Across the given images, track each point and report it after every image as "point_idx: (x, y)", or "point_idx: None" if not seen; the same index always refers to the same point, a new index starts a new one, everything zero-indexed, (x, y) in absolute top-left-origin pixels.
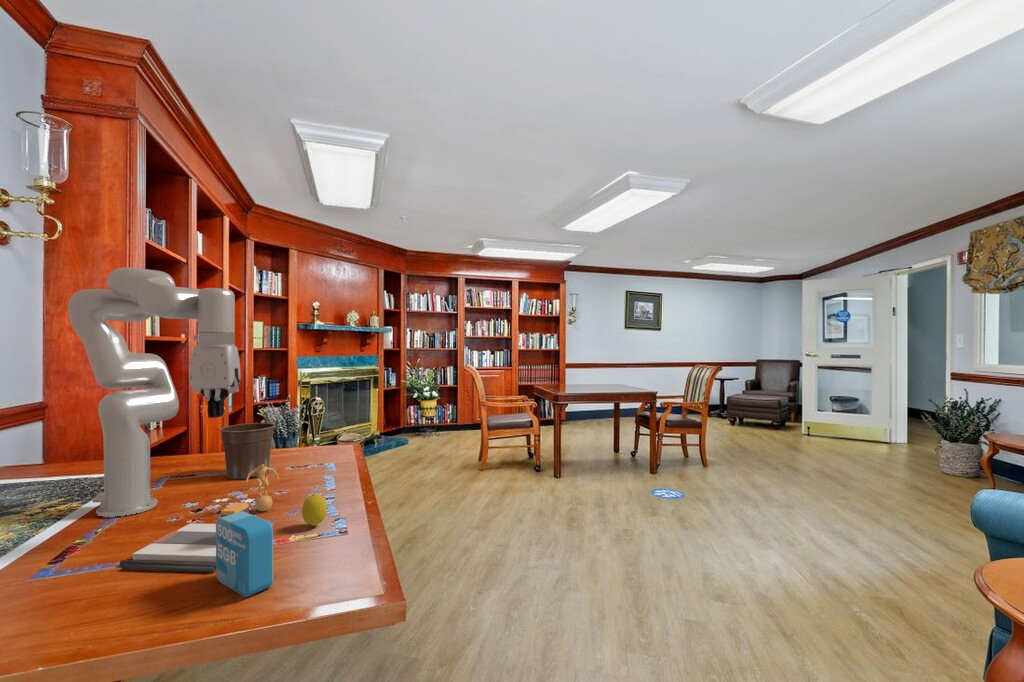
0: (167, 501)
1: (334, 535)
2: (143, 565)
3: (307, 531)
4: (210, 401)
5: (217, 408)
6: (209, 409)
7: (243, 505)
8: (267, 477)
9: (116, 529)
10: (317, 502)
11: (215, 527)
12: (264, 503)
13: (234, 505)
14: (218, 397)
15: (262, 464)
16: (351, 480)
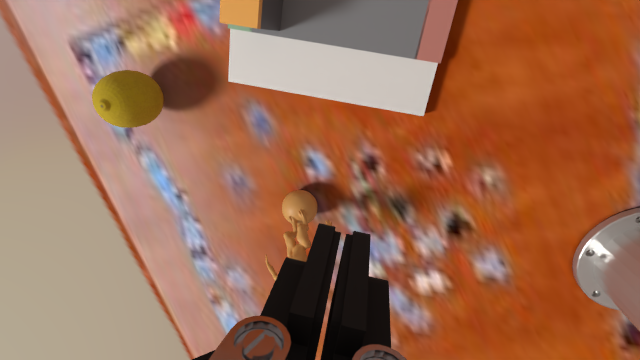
0: (557, 294)
1: (91, 38)
2: None
3: (155, 67)
4: (340, 325)
5: (295, 282)
6: (355, 266)
7: (223, 1)
8: (287, 255)
9: (606, 129)
10: (98, 83)
11: (349, 81)
12: (290, 194)
13: (249, 3)
14: (233, 346)
15: None
16: (202, 344)
